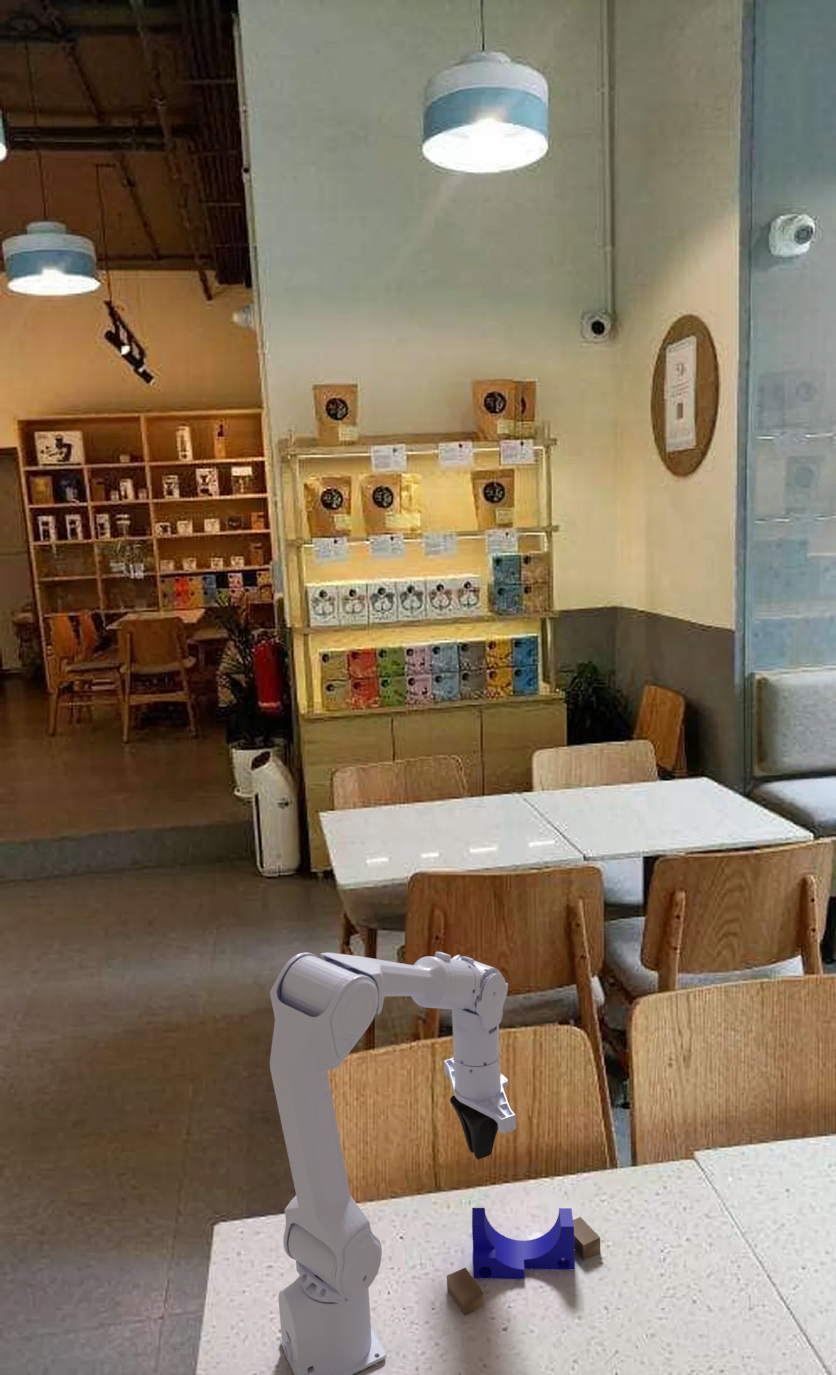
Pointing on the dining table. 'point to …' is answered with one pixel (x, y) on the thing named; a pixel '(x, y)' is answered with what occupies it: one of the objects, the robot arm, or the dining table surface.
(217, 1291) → the dining table surface
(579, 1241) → the end blocks
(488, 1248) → the blue block with holes
